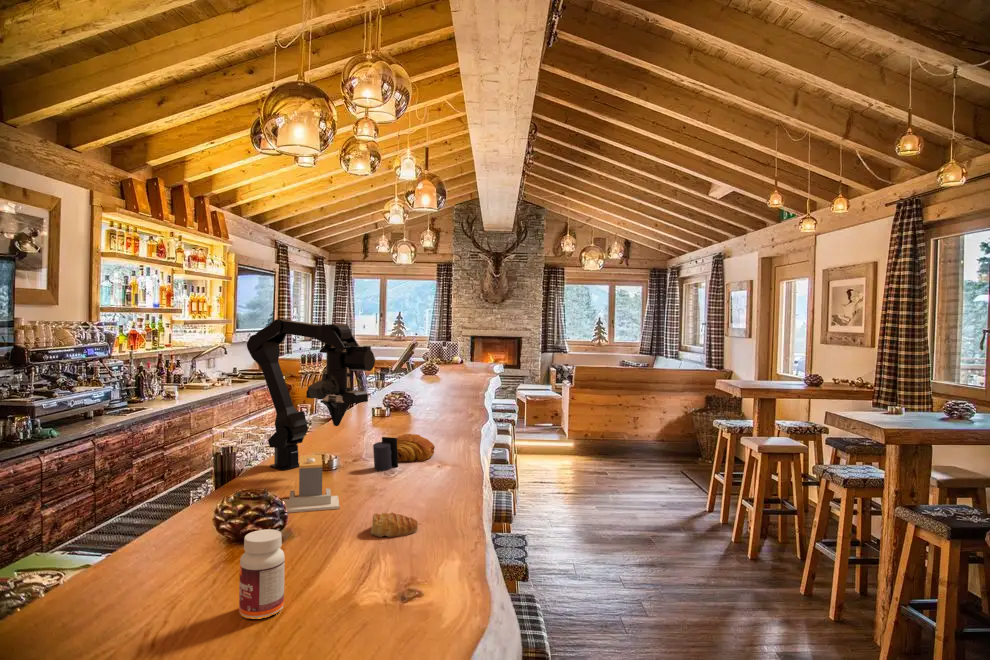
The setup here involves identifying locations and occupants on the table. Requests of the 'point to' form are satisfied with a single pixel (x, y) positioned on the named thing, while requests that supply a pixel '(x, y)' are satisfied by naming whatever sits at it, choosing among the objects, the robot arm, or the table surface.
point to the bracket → (311, 502)
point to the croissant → (414, 448)
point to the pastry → (393, 525)
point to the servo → (310, 475)
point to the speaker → (385, 454)
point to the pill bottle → (261, 574)
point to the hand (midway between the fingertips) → (336, 425)
